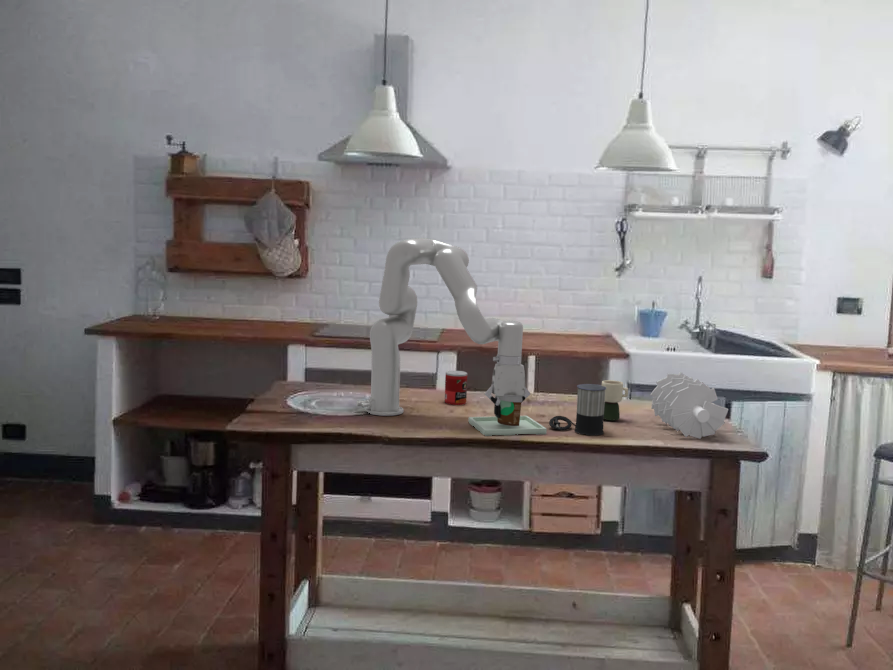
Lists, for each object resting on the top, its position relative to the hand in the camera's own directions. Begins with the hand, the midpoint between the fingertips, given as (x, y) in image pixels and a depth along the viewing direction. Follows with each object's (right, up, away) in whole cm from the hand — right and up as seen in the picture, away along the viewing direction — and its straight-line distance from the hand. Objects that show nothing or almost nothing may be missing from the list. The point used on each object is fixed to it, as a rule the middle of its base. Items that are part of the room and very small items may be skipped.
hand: (506, 416), depth 298 cm
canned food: (-16, +1, +36) cm, 40 cm away
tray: (0, -4, 0) cm, 4 cm away
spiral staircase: (+58, -6, +5) cm, 58 cm away
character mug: (+36, -3, +17) cm, 40 cm away
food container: (-1, -2, 0) cm, 2 cm away
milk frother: (+22, -5, 0) cm, 23 cm away
